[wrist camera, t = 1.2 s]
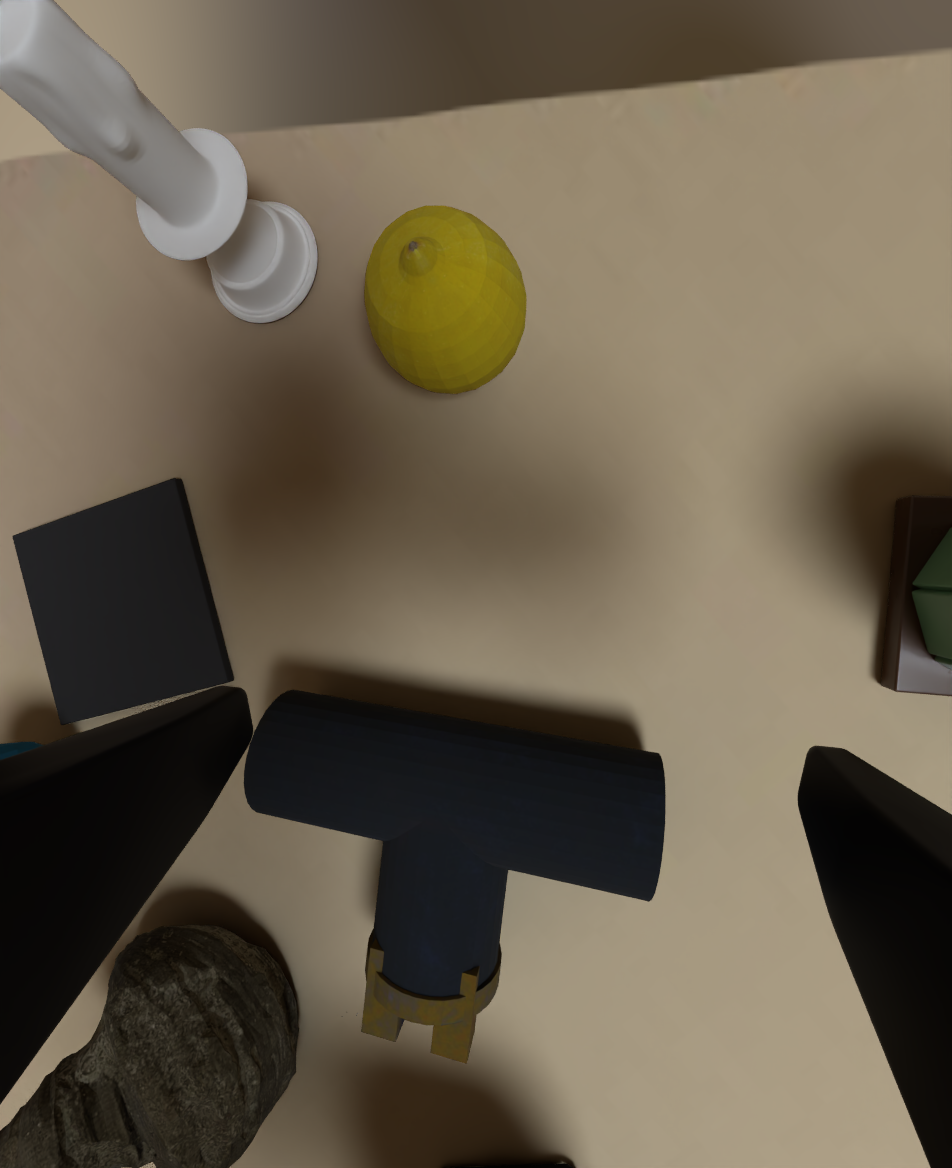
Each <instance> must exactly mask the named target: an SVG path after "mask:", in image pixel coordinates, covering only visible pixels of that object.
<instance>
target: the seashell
mask: <svg viewBox="0 0 952 1168" xmlns="http://www.w3.org/2000/svg"><path fill="white" fill-rule="evenodd" d="M108 987H109V989H108V996H107V1001H106V1004H105V1007H104V1011H103V1014H102V1017H101V1020H100V1022H99V1025H98V1027H97V1029H96V1031H95V1033H94V1035H93V1037H92V1039H91V1040H90V1041H89V1042H88V1043H87V1045H85V1046H84V1047H83V1048H82V1049H80V1050H79V1051H78V1052H76V1053H73V1054H71V1055H69V1056H67V1057H66V1058H64V1059H63V1060H62V1061H61V1062H60V1063H59V1064H58V1065H57V1067H56V1068H55V1070H54V1071H53V1072H51V1073H50V1074H48V1075H47V1076H46V1077H45V1078H44V1080H43V1081H42V1083H41V1084H40V1086H39V1088H38V1089H37V1091H36V1092H35V1093H34V1094H33V1096H32V1097H31V1098H30V1100H29V1101H28V1102H27V1103H26V1105H24V1106H22V1107H21V1108H20V1109H19V1111H18V1112H17V1114H16V1115H15V1117H14V1118H13V1119H12V1121H11V1122H10V1123H9V1124H8V1125H7V1126H5V1127H4V1128H3V1129H2V1130H1V1131H0V1168H121V1167H131V1168H139V1167H142V1166H144V1165H146V1164H148V1163H150V1162H153V1163H154V1164H155V1166H156V1168H229V1167H230V1166H231V1165H232V1164H233V1163H235V1162H236V1161H237V1160H238V1159H239V1158H240V1157H241V1156H242V1155H243V1153H244V1152H245V1151H246V1149H247V1148H248V1146H249V1145H250V1144H251V1142H252V1140H253V1139H254V1137H255V1135H256V1133H257V1131H258V1129H259V1127H260V1126H261V1124H262V1123H263V1121H264V1120H265V1118H266V1117H267V1115H268V1114H269V1113H270V1111H271V1110H272V1109H273V1107H274V1105H275V1104H276V1102H277V1101H278V1100H279V1098H280V1097H281V1096H282V1094H283V1093H284V1091H285V1090H286V1089H287V1087H288V1084H289V1082H290V1080H291V1078H292V1077H293V1075H294V1074H295V1073H296V1046H297V1037H298V1032H299V1027H298V1014H297V1009H296V1000H295V998H294V994H293V991H292V990H291V988H290V985H289V983H288V981H287V979H286V978H285V976H284V974H283V971H282V969H281V967H280V966H279V964H278V963H277V962H276V961H275V960H274V959H273V958H272V957H271V956H270V955H269V954H268V953H267V951H266V950H265V949H264V948H262V947H259V946H256V945H252V944H249V943H247V942H245V941H244V940H243V939H242V938H240V937H238V936H237V935H235V934H234V933H232V932H230V931H228V930H226V929H224V928H222V927H220V926H214V925H206V926H198V925H185V926H183V927H174V926H171V927H164V926H161V927H159V928H157V929H155V930H153V931H151V932H149V933H144V934H141V935H137V936H136V938H135V939H134V940H133V941H132V942H131V943H130V944H128V945H127V946H126V948H125V949H124V950H123V951H122V952H121V953H120V954H119V955H118V957H117V958H116V961H115V965H114V968H113V971H112V973H111V976H110V979H109V984H108ZM346 1013H347V1012H346ZM356 1016H357V1015H356ZM342 1017H343V1016H342Z"/></svg>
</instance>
